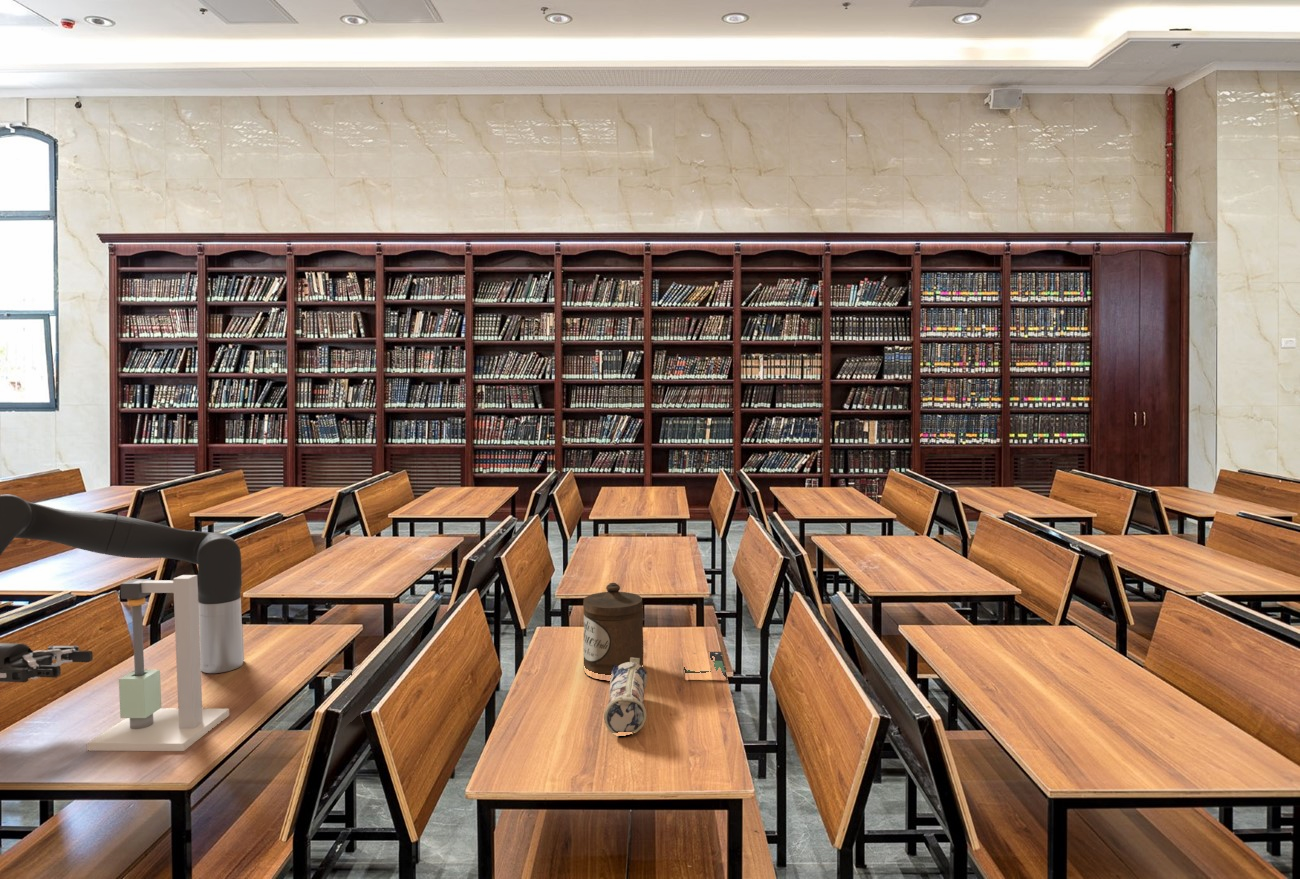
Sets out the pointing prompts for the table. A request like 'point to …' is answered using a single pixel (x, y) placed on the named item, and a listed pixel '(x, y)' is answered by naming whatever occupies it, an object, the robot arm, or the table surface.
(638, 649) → the wooden container
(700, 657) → the table surface
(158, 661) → the table surface
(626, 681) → the pencil case
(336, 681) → the ink cartridge
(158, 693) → the pale green block
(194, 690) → the sliding block stand
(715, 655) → the disk drive
